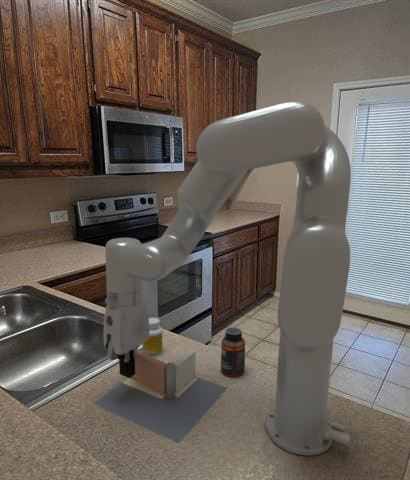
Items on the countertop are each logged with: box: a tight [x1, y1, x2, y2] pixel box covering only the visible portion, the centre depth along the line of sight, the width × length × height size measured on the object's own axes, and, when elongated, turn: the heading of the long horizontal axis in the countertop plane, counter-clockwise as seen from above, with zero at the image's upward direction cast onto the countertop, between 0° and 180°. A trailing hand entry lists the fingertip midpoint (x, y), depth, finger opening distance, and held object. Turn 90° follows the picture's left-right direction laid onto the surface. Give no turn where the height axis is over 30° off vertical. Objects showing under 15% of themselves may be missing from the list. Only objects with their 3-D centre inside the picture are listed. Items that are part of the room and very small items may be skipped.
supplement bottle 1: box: [142, 317, 163, 358], centre depth 97 cm, size 5×5×10 cm
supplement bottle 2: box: [220, 327, 246, 379], centre depth 88 cm, size 6×6×11 cm
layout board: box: [93, 349, 228, 444], centre depth 78 cm, size 22×20×8 cm
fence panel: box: [132, 350, 167, 394], centre depth 81 cm, size 12×2×7 cm, turn 52°
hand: (127, 374), depth 79 cm, fingers closed
